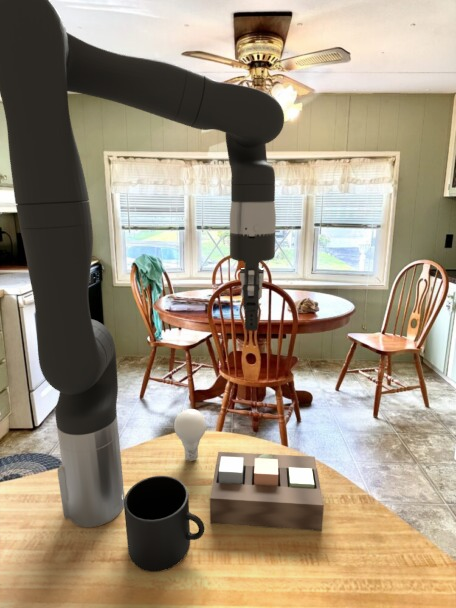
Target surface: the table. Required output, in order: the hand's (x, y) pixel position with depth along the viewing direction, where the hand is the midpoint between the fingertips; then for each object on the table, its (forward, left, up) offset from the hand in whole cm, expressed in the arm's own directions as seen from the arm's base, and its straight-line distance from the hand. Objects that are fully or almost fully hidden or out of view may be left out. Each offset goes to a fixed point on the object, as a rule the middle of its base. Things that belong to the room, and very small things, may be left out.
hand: (251, 329), depth 71 cm
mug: (-12, -19, -29) cm, 37 cm away
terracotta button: (+3, -8, -26) cm, 28 cm away
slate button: (-3, -8, -26) cm, 28 cm away
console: (+3, -8, -29) cm, 30 cm away
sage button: (+9, -8, -28) cm, 30 cm away
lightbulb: (-12, +2, -29) cm, 32 cm away
